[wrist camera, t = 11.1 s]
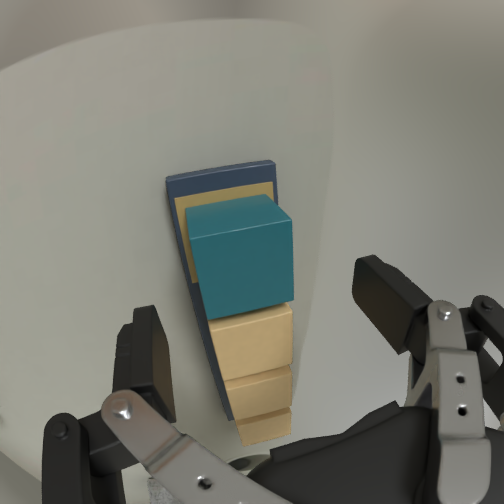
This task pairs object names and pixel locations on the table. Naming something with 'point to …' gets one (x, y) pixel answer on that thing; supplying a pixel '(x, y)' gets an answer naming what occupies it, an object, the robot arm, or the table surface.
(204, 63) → the table surface
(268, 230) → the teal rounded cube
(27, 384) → the table surface
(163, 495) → the decorative stone
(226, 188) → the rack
